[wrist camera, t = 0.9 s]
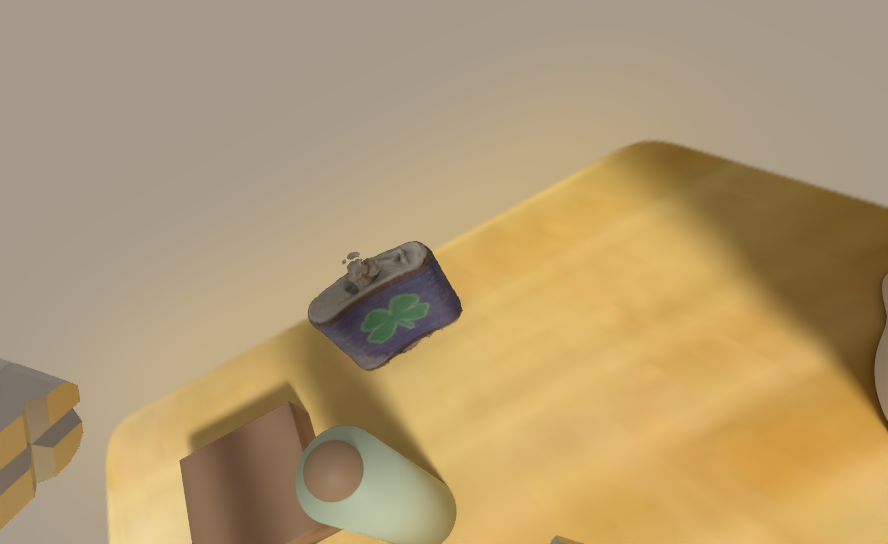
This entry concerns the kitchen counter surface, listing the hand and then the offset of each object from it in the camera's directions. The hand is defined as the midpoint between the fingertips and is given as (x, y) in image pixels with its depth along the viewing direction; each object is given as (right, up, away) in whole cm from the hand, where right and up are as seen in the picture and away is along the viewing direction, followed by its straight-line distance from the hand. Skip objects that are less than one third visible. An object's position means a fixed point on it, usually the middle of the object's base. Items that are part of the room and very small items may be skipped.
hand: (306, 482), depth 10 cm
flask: (0, -1, +37) cm, 37 cm away
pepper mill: (+1, -12, +29) cm, 32 cm away
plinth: (-10, -13, +33) cm, 37 cm away
